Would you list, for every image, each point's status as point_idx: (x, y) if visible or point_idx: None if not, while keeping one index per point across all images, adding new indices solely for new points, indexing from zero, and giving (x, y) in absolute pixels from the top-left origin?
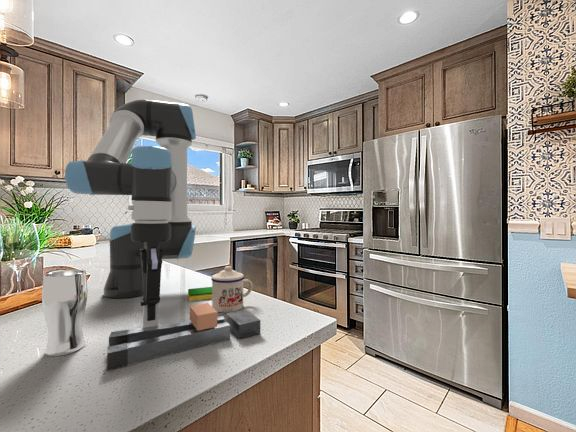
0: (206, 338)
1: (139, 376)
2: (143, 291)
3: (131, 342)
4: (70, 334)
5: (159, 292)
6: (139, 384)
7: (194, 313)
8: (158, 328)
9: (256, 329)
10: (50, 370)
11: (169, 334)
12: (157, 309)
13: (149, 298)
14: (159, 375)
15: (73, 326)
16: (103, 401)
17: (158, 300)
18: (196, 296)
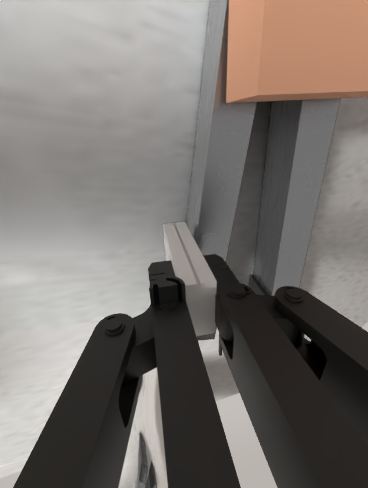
0: None
1: (332, 247)
2: (138, 390)
3: None
4: (160, 405)
5: (366, 332)
6: (357, 246)
7: (363, 91)
8: (225, 231)
9: None
10: (214, 369)
11: (287, 198)
12: (205, 265)
13: (320, 348)
14: (357, 213)
15: (160, 422)
16: (359, 287)
17: (309, 299)
18: None
